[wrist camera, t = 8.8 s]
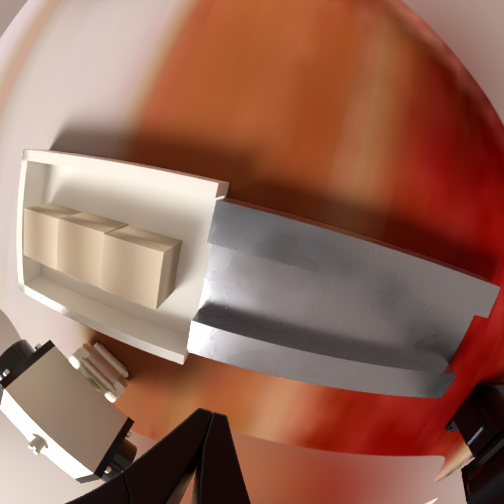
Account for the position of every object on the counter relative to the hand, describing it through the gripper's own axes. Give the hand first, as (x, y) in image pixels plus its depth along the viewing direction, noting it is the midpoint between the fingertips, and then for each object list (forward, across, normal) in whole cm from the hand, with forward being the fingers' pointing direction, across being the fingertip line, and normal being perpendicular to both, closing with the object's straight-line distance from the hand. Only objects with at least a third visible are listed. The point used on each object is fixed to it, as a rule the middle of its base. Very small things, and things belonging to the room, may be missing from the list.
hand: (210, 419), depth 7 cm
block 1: (+11, +15, 0) cm, 19 cm away
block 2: (+11, +11, 0) cm, 16 cm away
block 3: (+11, +7, 0) cm, 13 cm away
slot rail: (+12, -7, 0) cm, 14 cm away
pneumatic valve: (+12, +11, +12) cm, 20 cm away
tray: (+12, +11, 0) cm, 16 cm away
